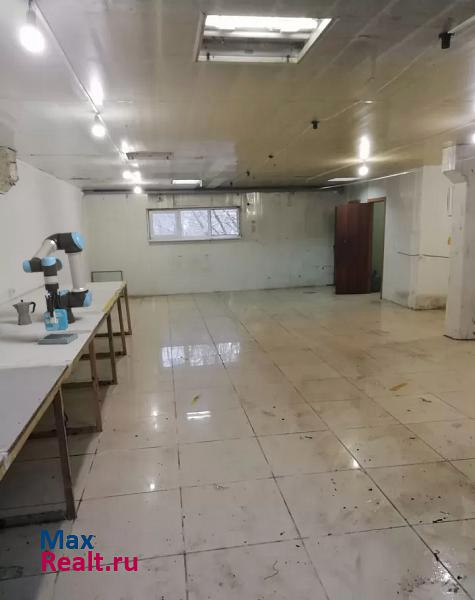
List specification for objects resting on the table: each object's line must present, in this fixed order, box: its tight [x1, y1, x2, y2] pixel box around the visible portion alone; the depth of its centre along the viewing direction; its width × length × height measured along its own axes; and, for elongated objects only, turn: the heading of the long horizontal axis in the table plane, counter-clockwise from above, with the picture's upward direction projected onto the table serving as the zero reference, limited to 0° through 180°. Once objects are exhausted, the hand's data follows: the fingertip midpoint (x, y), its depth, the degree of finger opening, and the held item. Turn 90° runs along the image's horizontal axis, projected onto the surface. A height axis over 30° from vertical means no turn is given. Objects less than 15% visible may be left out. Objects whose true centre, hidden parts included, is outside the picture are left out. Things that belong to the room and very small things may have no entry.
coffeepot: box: [11, 299, 37, 326], centre depth 308 cm, size 15×9×18 cm, turn 121°
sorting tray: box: [37, 332, 79, 346], centre depth 256 cm, size 14×18×3 cm
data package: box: [43, 309, 69, 332], centre depth 254 cm, size 12×4×12 cm, turn 100°
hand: (56, 321), depth 254 cm, fingers closed on data package, 5 cm apart
